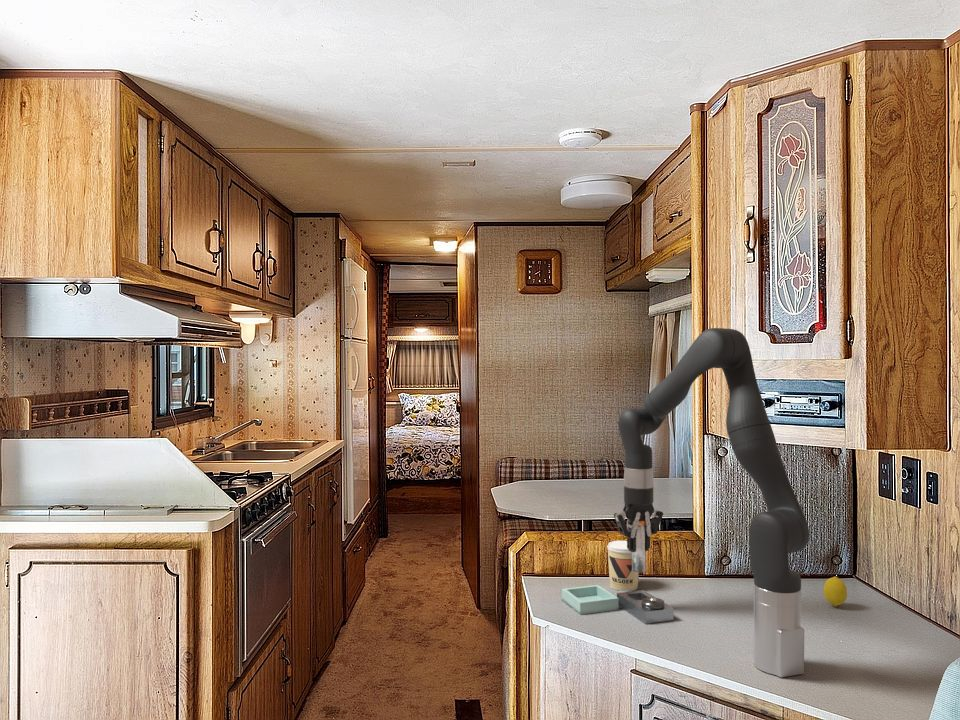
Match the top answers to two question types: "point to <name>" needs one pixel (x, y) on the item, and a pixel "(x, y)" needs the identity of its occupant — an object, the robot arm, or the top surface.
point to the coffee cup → (621, 567)
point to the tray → (589, 599)
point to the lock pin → (639, 549)
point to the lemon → (835, 591)
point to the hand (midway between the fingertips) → (638, 550)
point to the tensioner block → (645, 607)
